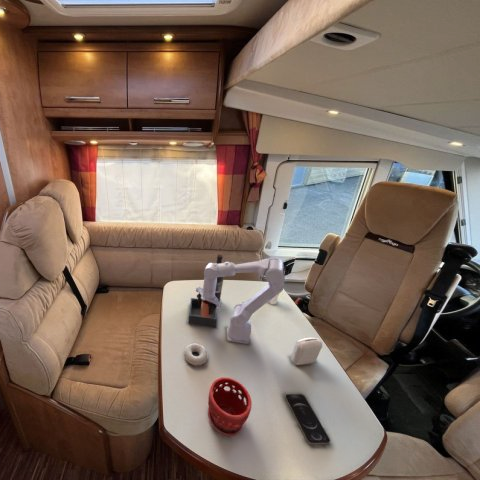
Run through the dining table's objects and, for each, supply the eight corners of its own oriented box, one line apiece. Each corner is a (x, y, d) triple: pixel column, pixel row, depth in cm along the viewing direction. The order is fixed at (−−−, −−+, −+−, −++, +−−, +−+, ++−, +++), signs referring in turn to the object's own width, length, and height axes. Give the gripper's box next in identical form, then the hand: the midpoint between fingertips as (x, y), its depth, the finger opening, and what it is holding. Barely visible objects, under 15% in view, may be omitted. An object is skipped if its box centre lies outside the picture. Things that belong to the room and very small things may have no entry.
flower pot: (248, 444, 73) (255, 422, 68) (205, 435, 75) (209, 413, 70) (242, 401, 85) (248, 379, 79) (205, 394, 87) (209, 372, 81)
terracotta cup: (211, 310, 116) (213, 297, 113) (211, 318, 111) (213, 305, 108) (200, 309, 117) (201, 296, 113) (200, 316, 112) (201, 303, 109)
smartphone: (303, 394, 86) (332, 442, 73) (303, 395, 87) (331, 444, 73) (284, 394, 86) (308, 443, 73) (283, 395, 87) (308, 445, 73)
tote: (215, 308, 128) (216, 301, 126) (215, 327, 116) (217, 319, 114) (190, 305, 130) (190, 297, 128) (188, 323, 118) (189, 315, 116)
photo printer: (295, 366, 97) (303, 345, 92) (288, 357, 101) (296, 337, 96) (316, 363, 99) (326, 342, 94) (309, 354, 103) (318, 334, 97)
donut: (182, 365, 97) (207, 369, 95) (183, 359, 96) (207, 363, 94) (185, 345, 106) (207, 349, 104) (185, 339, 105) (208, 343, 103)
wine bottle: (206, 304, 131) (212, 257, 119) (207, 296, 138) (213, 251, 125) (219, 306, 130) (226, 259, 117) (220, 298, 136) (227, 253, 123)
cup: (262, 299, 136) (266, 283, 131) (270, 296, 138) (275, 281, 134) (271, 306, 131) (276, 290, 126) (280, 303, 133) (285, 287, 128)
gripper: (192, 282, 111) (190, 305, 117) (215, 299, 100) (211, 323, 106) (203, 277, 114) (200, 299, 120) (226, 293, 104) (222, 316, 110)
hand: (206, 310), depth 113 cm, fingers closed on terracotta cup, 5 cm apart
